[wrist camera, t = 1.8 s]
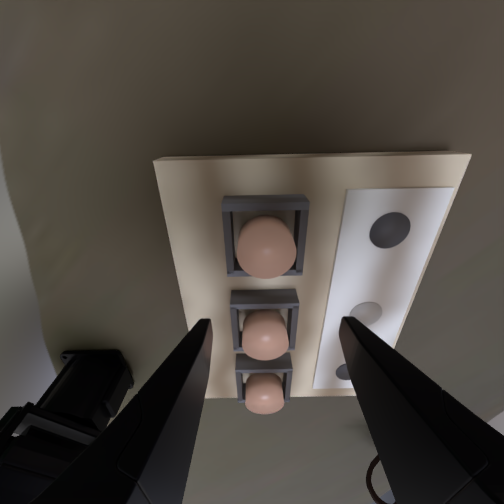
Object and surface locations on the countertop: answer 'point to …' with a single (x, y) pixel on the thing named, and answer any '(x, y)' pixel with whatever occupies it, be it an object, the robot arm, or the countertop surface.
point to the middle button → (264, 335)
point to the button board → (305, 252)
